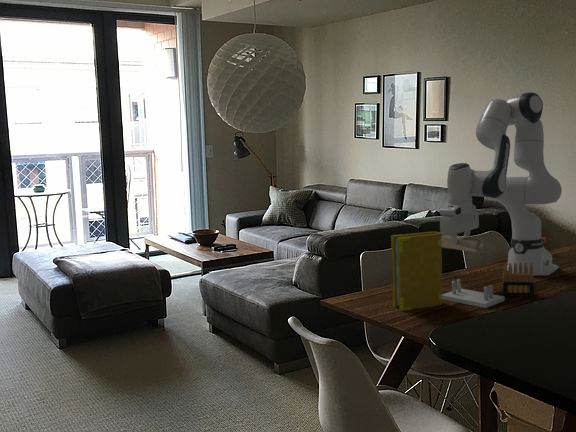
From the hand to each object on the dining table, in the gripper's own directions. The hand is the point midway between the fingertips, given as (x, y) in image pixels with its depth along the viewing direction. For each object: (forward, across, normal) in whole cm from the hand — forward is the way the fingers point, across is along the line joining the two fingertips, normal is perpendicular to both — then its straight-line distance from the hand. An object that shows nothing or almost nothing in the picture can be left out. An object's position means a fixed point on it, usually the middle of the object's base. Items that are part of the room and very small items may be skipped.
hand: (460, 243), depth 243 cm
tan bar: (+2, 0, 0) cm, 2 cm away
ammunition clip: (+17, -2, +22) cm, 28 cm away
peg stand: (+17, +13, +13) cm, 25 cm away
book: (+16, +30, +3) cm, 34 cm away
